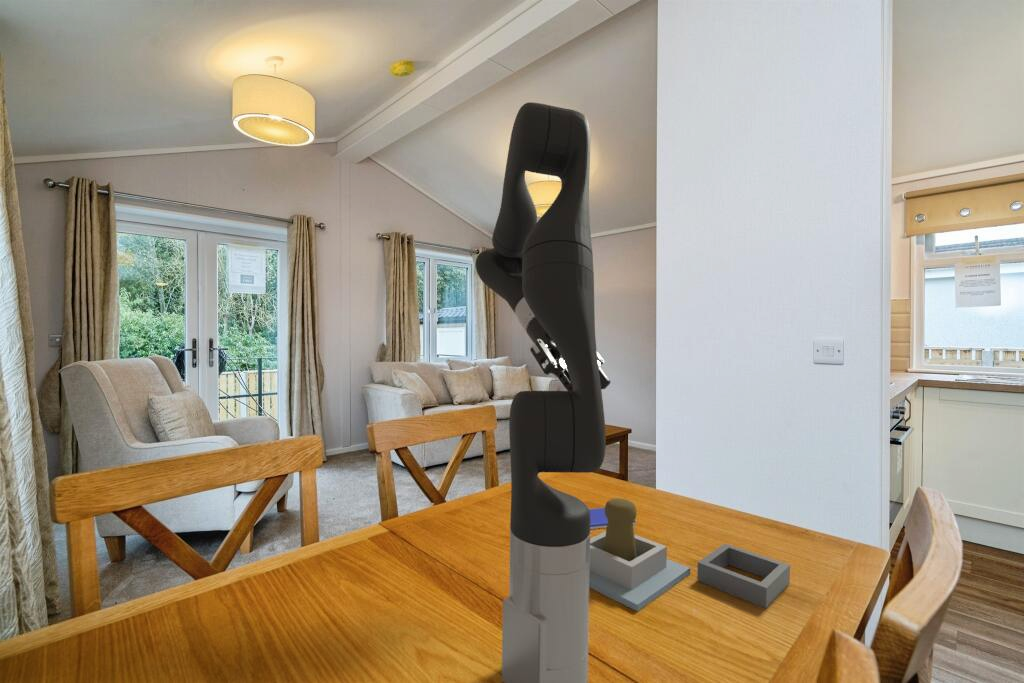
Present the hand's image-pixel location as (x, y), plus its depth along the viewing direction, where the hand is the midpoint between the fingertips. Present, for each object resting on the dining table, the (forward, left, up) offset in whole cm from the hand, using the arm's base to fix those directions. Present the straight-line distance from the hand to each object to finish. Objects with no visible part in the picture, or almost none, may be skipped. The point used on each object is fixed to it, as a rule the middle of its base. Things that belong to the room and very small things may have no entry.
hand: (591, 388), depth 80 cm
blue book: (+18, +11, -31) cm, 38 cm away
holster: (+15, -20, -31) cm, 39 cm away
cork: (+3, -4, -30) cm, 30 cm away
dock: (+3, -5, -31) cm, 31 cm away
